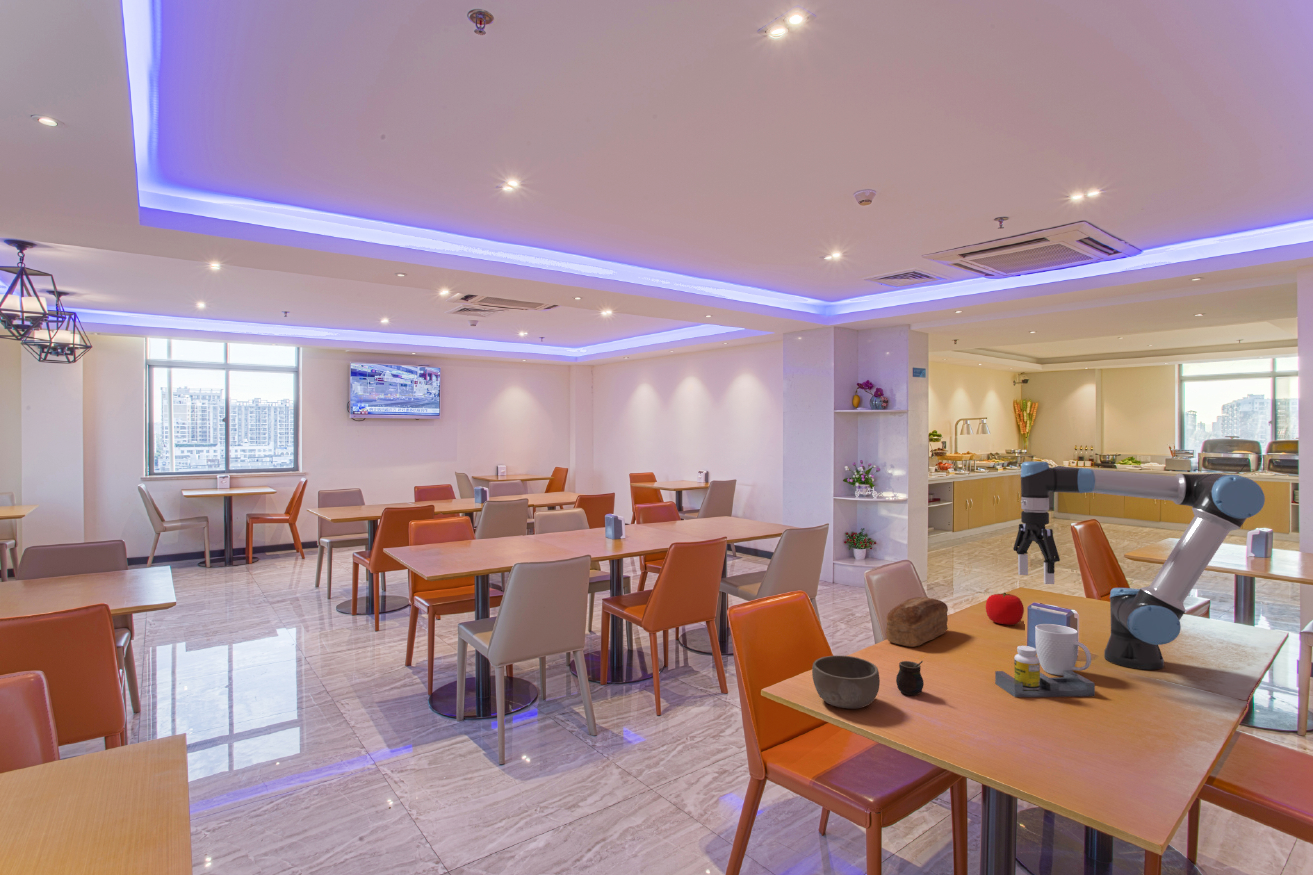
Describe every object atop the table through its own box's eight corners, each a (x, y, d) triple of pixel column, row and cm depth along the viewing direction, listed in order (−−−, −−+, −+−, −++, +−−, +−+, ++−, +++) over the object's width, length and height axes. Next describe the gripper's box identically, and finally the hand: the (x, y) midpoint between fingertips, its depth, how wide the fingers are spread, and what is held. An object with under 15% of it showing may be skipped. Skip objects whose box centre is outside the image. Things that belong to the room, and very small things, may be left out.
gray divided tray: (1071, 682, 189) (1070, 670, 189) (1094, 696, 179) (1094, 683, 179) (995, 683, 188) (995, 671, 188) (1014, 697, 178) (1014, 683, 178)
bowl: (845, 721, 164) (844, 681, 164) (798, 697, 180) (798, 660, 180) (894, 708, 172) (894, 669, 172) (846, 685, 188) (845, 650, 188)
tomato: (993, 627, 245) (992, 596, 245) (981, 617, 259) (981, 588, 259) (1030, 629, 243) (1029, 597, 243) (1016, 619, 257) (1015, 589, 257)
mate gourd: (902, 685, 187) (902, 650, 187) (929, 693, 182) (929, 657, 182) (891, 692, 182) (891, 656, 182) (918, 700, 177) (918, 663, 177)
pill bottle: (1009, 684, 186) (1009, 645, 186) (1030, 683, 186) (1030, 644, 186) (1023, 692, 180) (1023, 651, 180) (1045, 691, 180) (1044, 651, 180)
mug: (1099, 677, 193) (1099, 633, 193) (1081, 685, 187) (1081, 639, 187) (1046, 663, 205) (1046, 621, 205) (1028, 670, 199) (1027, 627, 199)
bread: (953, 632, 240) (952, 595, 240) (915, 651, 218) (915, 610, 218) (920, 625, 248) (920, 590, 249) (881, 643, 227) (880, 604, 227)
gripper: (1001, 507, 216) (1002, 571, 216) (1047, 515, 192) (1048, 588, 191) (1023, 506, 217) (1024, 571, 216) (1072, 515, 192) (1073, 587, 191)
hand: (1035, 579), depth 204 cm, fingers open, 13 cm apart
